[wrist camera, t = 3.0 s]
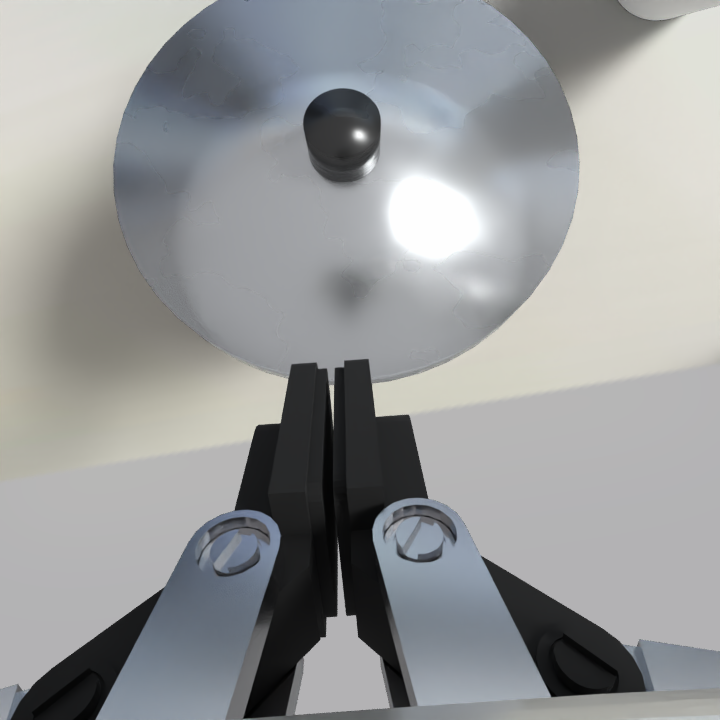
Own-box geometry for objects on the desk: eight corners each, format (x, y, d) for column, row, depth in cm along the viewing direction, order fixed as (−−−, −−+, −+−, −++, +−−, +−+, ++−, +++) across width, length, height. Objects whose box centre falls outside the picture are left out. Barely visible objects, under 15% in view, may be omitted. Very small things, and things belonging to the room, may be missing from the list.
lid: (533, -23, 19) (558, -97, 17) (597, 371, 16) (641, 353, 13) (139, 3, 19) (104, -67, 17) (120, 399, 16) (72, 386, 13)
